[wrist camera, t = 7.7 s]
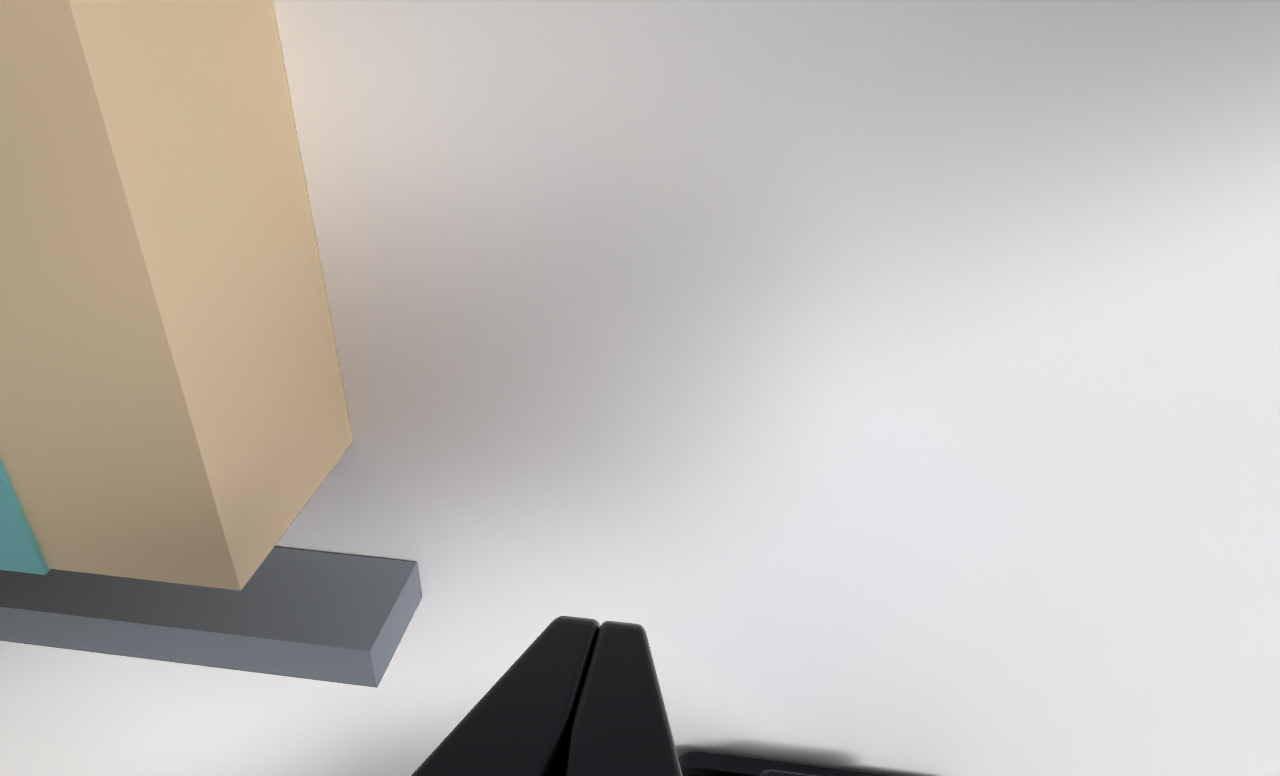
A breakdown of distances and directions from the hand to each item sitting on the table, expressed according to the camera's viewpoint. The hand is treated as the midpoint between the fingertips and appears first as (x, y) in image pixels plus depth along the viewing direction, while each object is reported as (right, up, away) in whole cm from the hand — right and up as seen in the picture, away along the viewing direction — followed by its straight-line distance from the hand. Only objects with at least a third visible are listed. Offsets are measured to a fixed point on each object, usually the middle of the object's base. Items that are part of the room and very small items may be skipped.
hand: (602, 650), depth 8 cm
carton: (-10, +6, +7) cm, 14 cm away
